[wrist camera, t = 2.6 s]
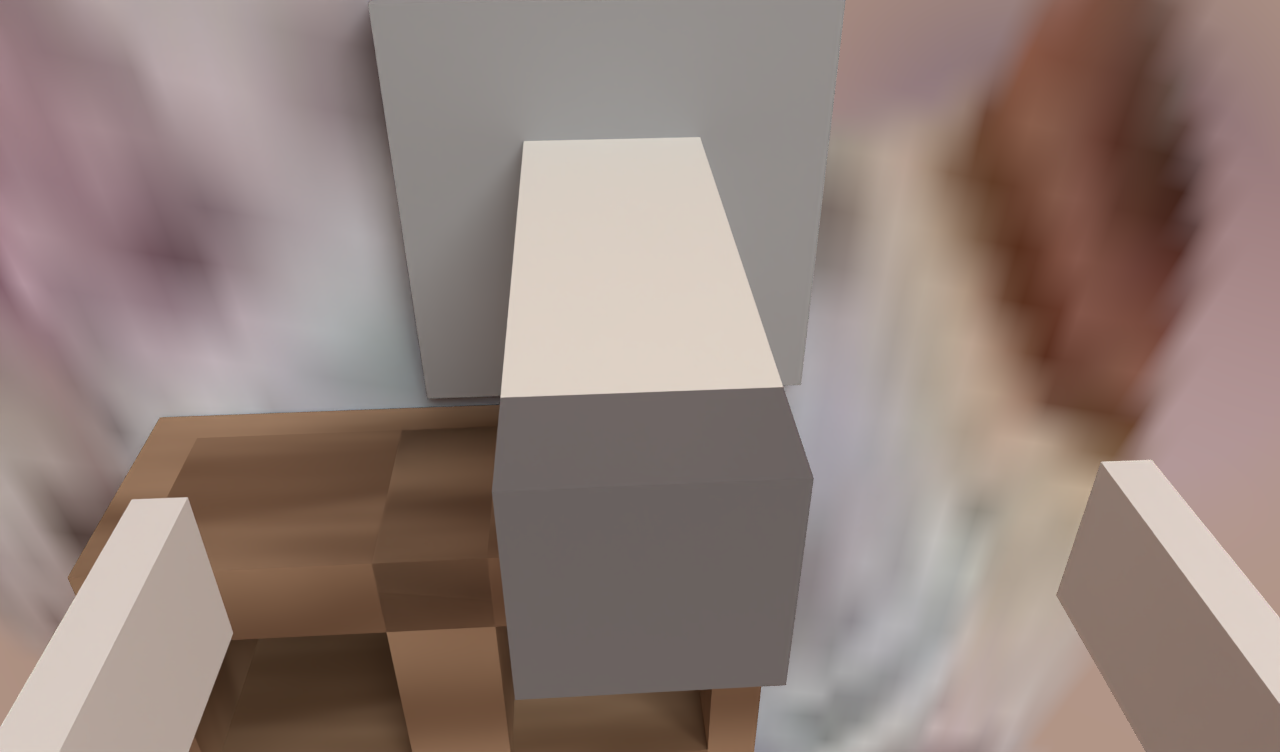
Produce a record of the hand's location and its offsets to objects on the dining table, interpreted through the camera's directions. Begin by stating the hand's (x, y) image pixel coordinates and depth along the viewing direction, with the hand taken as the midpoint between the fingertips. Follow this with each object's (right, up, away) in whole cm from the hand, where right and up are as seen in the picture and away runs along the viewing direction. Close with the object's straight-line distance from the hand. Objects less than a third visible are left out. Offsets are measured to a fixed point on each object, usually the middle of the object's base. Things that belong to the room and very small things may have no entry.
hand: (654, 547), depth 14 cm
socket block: (-5, -2, +15) cm, 16 cm away
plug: (-1, +6, +9) cm, 11 cm away
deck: (-1, +7, +9) cm, 12 cm away
